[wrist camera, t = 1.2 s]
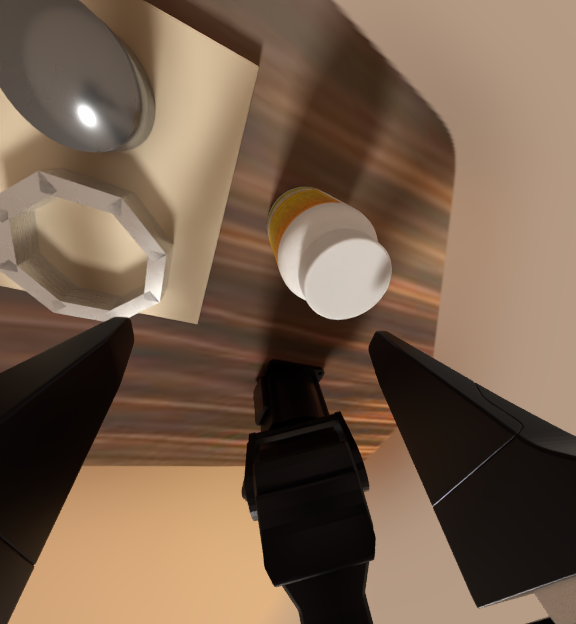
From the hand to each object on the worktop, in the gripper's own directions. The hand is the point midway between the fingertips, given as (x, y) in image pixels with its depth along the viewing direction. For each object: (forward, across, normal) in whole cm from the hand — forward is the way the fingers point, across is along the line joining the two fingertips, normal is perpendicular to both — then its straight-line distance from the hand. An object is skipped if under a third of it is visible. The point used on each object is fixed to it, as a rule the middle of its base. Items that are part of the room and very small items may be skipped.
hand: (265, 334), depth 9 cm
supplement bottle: (+12, -4, -2) cm, 12 cm away
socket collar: (+11, +10, +2) cm, 15 cm away
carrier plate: (+11, +9, -2) cm, 15 cm away
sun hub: (+11, +8, -7) cm, 16 cm away
